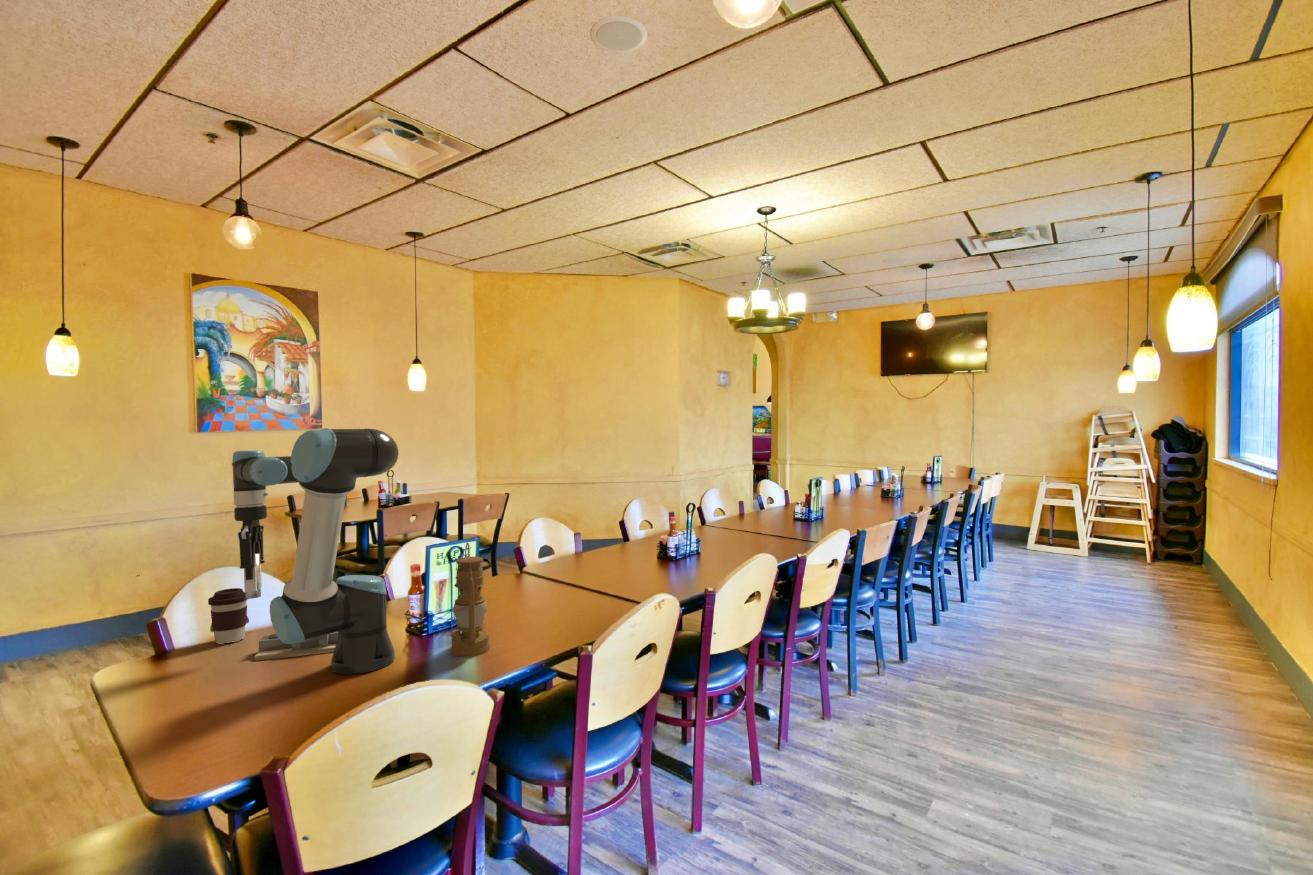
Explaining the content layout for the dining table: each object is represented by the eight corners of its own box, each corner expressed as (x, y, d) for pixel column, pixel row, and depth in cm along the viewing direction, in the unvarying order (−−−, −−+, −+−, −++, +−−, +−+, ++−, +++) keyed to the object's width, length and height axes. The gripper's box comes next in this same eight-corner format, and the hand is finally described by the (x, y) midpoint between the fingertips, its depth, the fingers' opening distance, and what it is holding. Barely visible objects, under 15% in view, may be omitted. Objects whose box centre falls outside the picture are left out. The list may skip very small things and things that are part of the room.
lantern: (441, 647, 171) (438, 541, 171) (476, 638, 178) (473, 536, 178) (463, 662, 160) (460, 548, 160) (499, 652, 167) (497, 543, 166)
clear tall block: (258, 597, 168) (257, 554, 168) (243, 599, 167) (242, 555, 167) (262, 594, 171) (261, 552, 171) (248, 596, 170) (246, 553, 170)
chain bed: (359, 649, 171) (359, 630, 171) (254, 660, 164) (254, 641, 164) (367, 635, 183) (366, 618, 183) (269, 646, 176) (268, 628, 176)
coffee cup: (257, 637, 183) (256, 588, 183) (222, 648, 174) (220, 596, 174) (237, 633, 188) (235, 585, 187) (202, 644, 179) (200, 593, 178)
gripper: (256, 507, 162) (259, 594, 162) (274, 502, 178) (277, 581, 178) (223, 509, 160) (226, 598, 160) (245, 503, 176) (247, 584, 176)
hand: (253, 589), depth 169 cm, fingers closed on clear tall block, 3 cm apart
